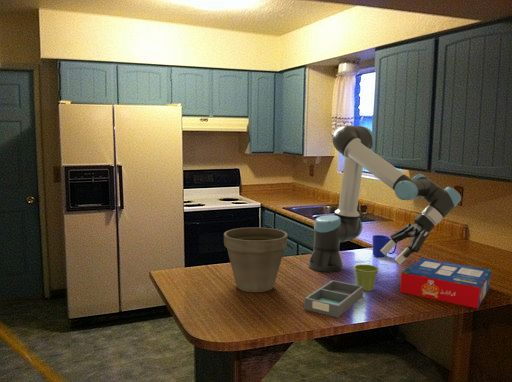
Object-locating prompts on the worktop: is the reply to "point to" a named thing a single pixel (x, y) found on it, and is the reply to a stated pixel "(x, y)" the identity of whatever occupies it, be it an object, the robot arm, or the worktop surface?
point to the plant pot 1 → (255, 256)
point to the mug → (380, 245)
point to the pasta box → (446, 282)
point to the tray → (333, 298)
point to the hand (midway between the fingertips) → (389, 257)
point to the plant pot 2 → (366, 276)
